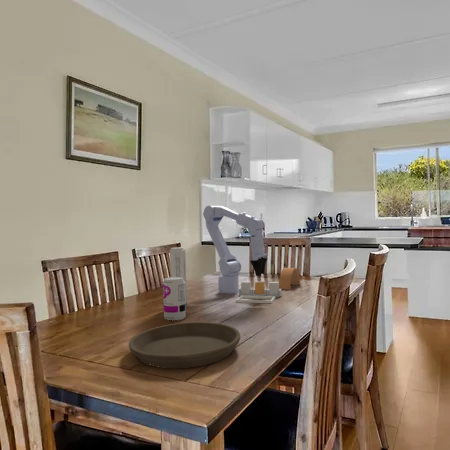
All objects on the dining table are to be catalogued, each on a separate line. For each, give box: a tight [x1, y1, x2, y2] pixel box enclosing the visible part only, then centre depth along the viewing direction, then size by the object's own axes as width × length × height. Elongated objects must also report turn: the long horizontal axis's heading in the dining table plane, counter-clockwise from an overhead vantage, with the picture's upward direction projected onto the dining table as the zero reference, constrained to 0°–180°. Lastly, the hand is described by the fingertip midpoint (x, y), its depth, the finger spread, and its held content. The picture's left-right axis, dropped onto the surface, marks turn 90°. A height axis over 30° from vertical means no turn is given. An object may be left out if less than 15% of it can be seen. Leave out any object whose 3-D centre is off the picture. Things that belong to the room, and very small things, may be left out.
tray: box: [235, 296, 276, 304], centre depth 172 cm, size 15×9×2 cm, turn 73°
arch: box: [278, 267, 301, 291], centre depth 204 cm, size 6×20×10 cm, turn 155°
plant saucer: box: [128, 321, 241, 369], centre depth 113 cm, size 31×31×5 cm
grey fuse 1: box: [240, 281, 252, 294], centre depth 184 cm, size 4×2×6 cm, turn 73°
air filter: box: [169, 246, 188, 308], centre depth 169 cm, size 6×6×25 cm
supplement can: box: [162, 276, 187, 322], centre depth 150 cm, size 8×8×15 cm
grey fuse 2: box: [268, 281, 279, 294], centre depth 181 cm, size 4×2×6 cm, turn 73°
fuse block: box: [238, 287, 283, 298], centre depth 183 cm, size 19×7×4 cm, turn 73°
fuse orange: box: [254, 280, 266, 294], centre depth 183 cm, size 4×2×6 cm, turn 73°
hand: (260, 274), depth 182 cm, fingers open, 7 cm apart
